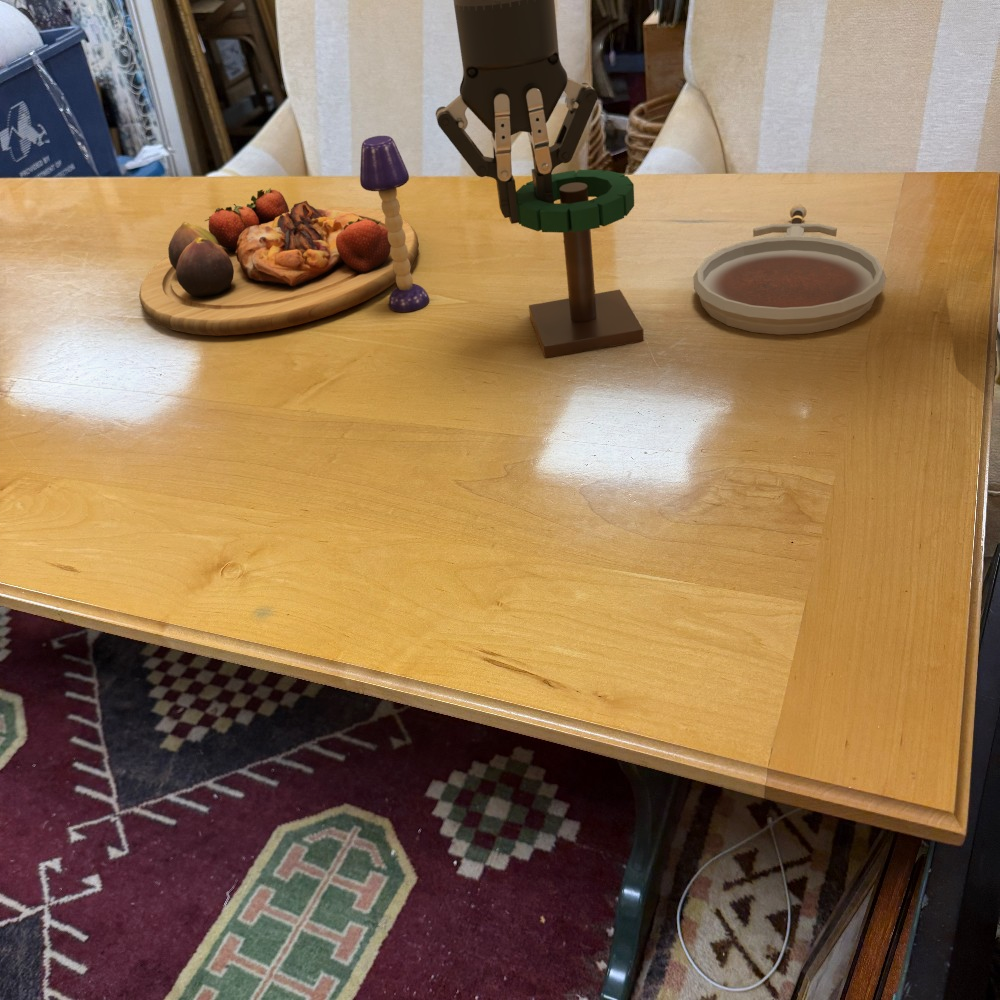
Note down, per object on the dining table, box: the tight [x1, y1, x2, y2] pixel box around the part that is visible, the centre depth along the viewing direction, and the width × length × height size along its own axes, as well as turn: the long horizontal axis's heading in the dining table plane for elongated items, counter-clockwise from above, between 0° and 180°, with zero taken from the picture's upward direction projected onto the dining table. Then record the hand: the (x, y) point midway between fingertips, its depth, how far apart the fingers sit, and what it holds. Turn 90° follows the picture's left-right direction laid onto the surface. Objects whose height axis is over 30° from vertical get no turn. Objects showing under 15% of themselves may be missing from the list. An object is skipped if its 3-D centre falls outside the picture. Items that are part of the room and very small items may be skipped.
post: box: [528, 183, 645, 359], centre depth 81 cm, size 9×9×13 cm
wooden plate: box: [138, 187, 420, 336], centre depth 103 cm, size 32×32×8 cm
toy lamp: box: [359, 135, 430, 313], centre depth 89 cm, size 5×5×17 cm
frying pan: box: [692, 204, 887, 336], centre depth 88 cm, size 17×3×28 cm
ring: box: [516, 169, 635, 234], centre depth 78 cm, size 10×10×2 cm
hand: (528, 217), depth 78 cm, fingers closed on ring, 2 cm apart
